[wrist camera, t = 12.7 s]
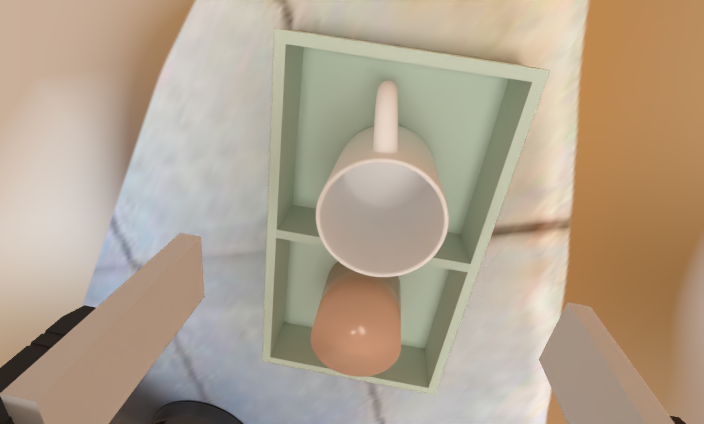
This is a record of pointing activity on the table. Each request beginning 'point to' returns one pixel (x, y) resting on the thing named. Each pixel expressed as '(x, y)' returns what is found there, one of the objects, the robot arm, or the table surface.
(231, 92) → the table surface
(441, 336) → the caddy
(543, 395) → the table surface
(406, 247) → the mug
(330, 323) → the peach rounded cylinder
